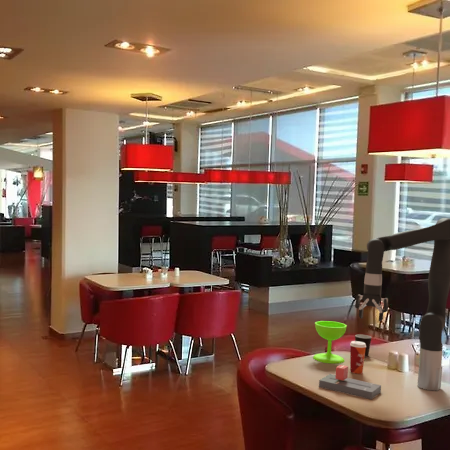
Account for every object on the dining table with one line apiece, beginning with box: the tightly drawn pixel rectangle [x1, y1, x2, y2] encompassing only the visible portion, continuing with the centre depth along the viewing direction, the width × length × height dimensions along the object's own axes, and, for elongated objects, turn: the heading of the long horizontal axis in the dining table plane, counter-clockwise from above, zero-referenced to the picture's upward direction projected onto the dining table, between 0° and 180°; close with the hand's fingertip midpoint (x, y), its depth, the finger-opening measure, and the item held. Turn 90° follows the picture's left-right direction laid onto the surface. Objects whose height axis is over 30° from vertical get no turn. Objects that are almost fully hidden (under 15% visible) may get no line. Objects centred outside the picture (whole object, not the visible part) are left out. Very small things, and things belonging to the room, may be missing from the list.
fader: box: [335, 364, 349, 380], centre depth 239 cm, size 4×5×6 cm
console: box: [318, 373, 382, 400], centre depth 237 cm, size 23×12×3 cm, turn 57°
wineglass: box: [312, 320, 348, 365], centre depth 285 cm, size 16×16×18 cm
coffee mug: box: [354, 334, 372, 358], centre depth 296 cm, size 12×9×10 cm
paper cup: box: [349, 340, 366, 375], centre depth 264 cm, size 8×8×14 cm
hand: (370, 319), depth 249 cm, fingers open, 8 cm apart
